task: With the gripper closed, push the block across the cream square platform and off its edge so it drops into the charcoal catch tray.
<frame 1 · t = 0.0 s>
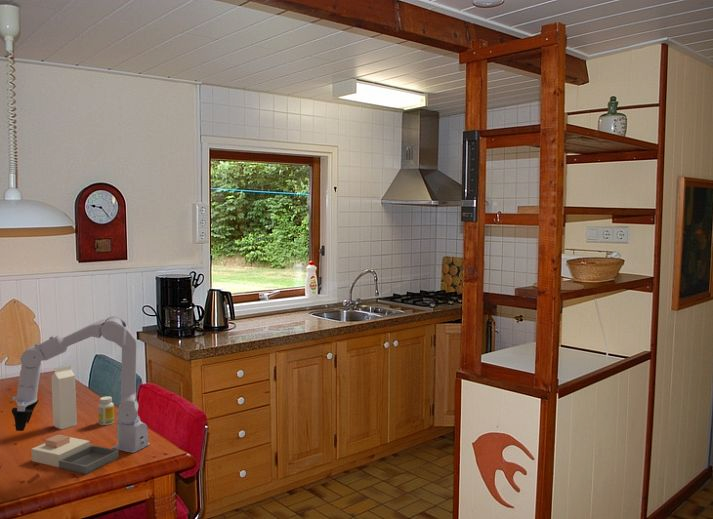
hand: (22, 426, 193), 11 cm above the table, tool pointing down, fingers open, 7 cm apart
cream square platform: (61, 456, 195), on the table
catch tray: (89, 463, 191), on the table
block: (57, 444, 196), point 4 cm above the table, touching cream square platform
milk: (65, 426, 223), on the table
supplement bottle: (106, 423, 226), on the table
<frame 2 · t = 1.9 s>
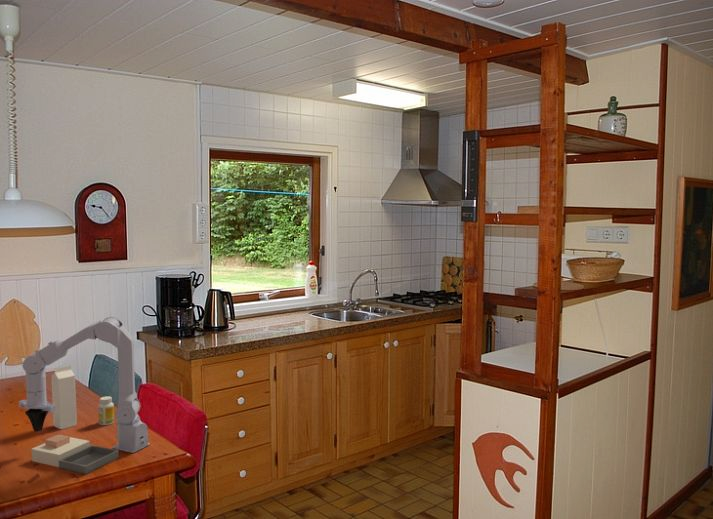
hand: (38, 430, 199), 7 cm above the table, tool pointing down, fingers closed
nothing on the table moved.
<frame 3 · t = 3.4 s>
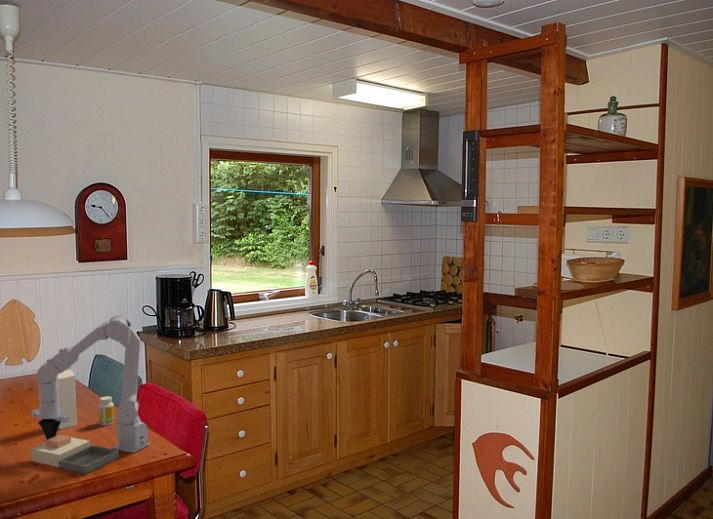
hand: (51, 440, 197), 5 cm above the table, tool pointing down, fingers closed
block: (58, 444, 195), point 4 cm above the table, touching gripper
everything else where it was.
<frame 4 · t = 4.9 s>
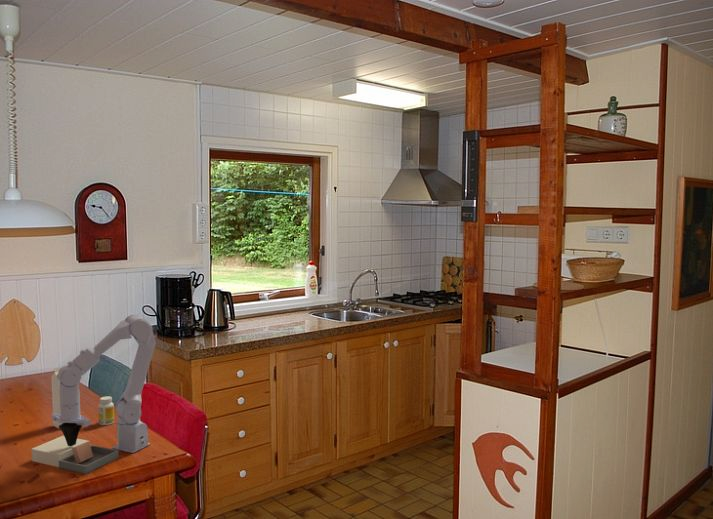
hand: (71, 445, 193), 5 cm above the table, tool pointing down, fingers closed
block: (80, 453, 192), point 3 cm above the table, tilted 67°, touching catch tray
everything else where it was.
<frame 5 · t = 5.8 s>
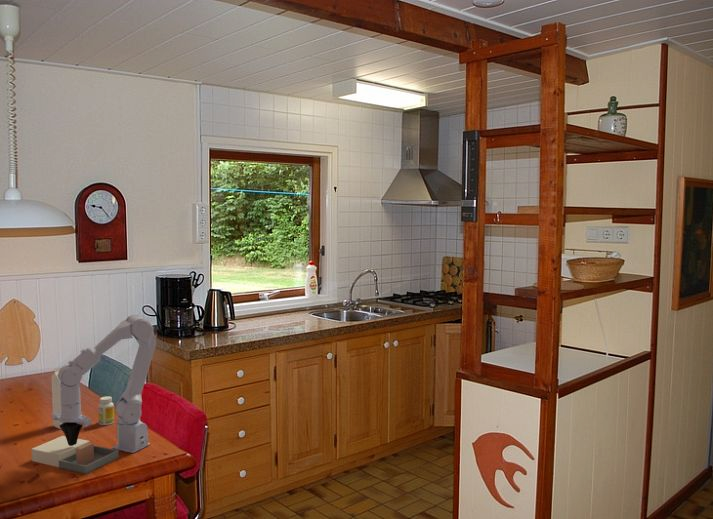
hand: (72, 444, 193), 5 cm above the table, tool pointing down, fingers closed
block: (82, 453, 191), point 3 cm above the table, tilted 90°, touching catch tray
everything else where it was.
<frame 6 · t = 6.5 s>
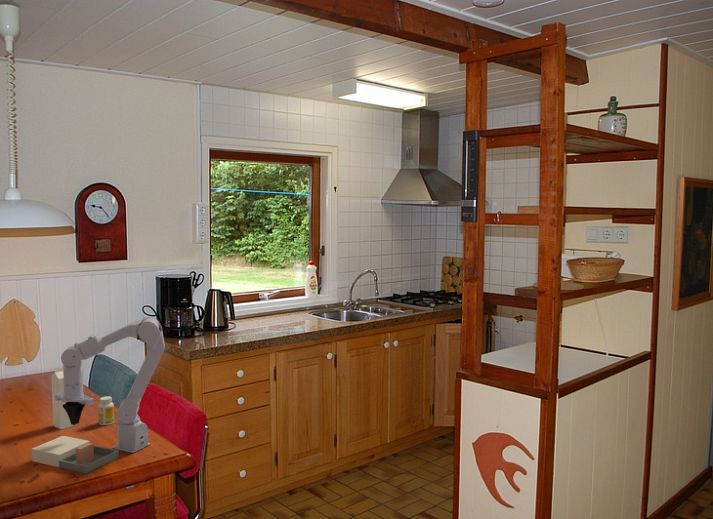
hand: (75, 423, 199), 9 cm above the table, tool pointing down, fingers closed
nothing on the table moved.
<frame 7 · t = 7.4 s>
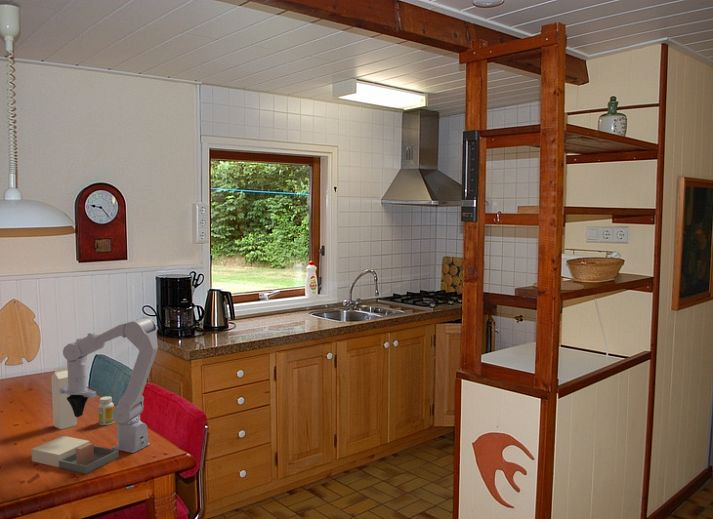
hand: (78, 416, 206), 9 cm above the table, tool pointing down, fingers closed
nothing on the table moved.
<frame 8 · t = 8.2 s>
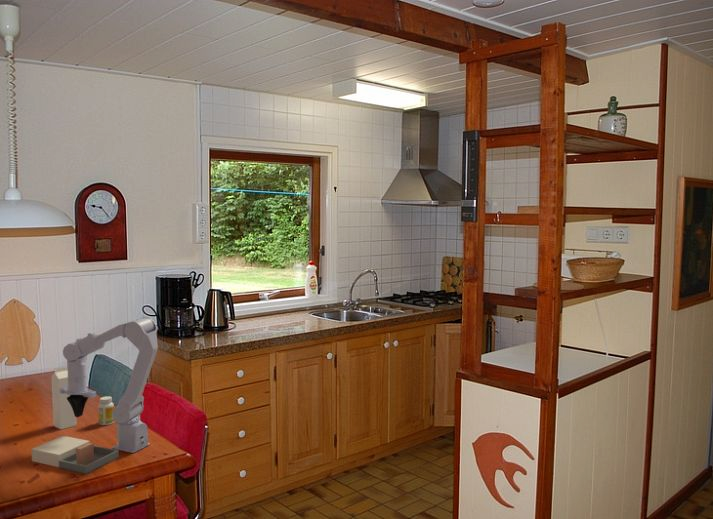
hand: (78, 416, 206), 9 cm above the table, tool pointing down, fingers closed
nothing on the table moved.
at the end: block inside the target area on the catch tray (2.4 cm from its centre), point 2.9 cm above the catch tray's base; block point 2.9 cm above the table; the gripper is holding nothing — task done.
